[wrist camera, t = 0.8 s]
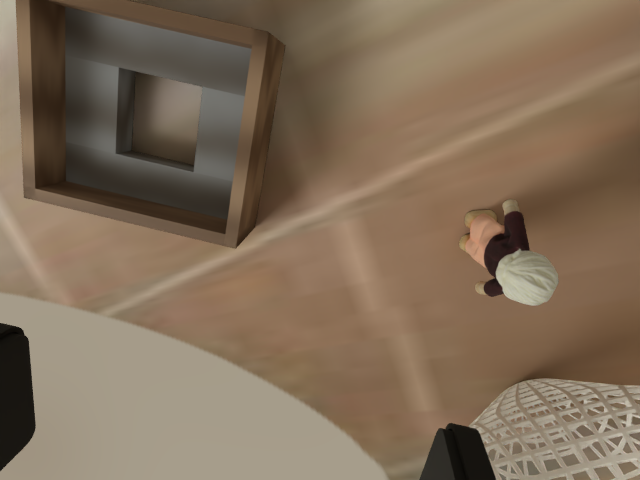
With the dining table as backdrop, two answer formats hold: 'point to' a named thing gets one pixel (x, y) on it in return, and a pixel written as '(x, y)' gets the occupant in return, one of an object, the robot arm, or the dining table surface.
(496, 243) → the grandmother figurine
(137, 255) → the dining table surface
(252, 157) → the walnut box
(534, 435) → the heart
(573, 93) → the dining table surface
